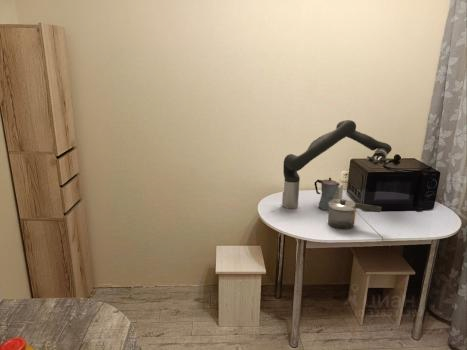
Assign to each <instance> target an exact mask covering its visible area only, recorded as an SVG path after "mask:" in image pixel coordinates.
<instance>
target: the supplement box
mask: <svg viewBox="0 0 467 350" xmlns="http://www.w3.org/2000/svg"><path fill="white" fill-rule="evenodd" d="M339 183H340V182H339ZM343 191H344V184H343V183H340V185H339V186H338V188H337V189H336V191H335V194H334V196H333V199H343Z"/></svg>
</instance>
